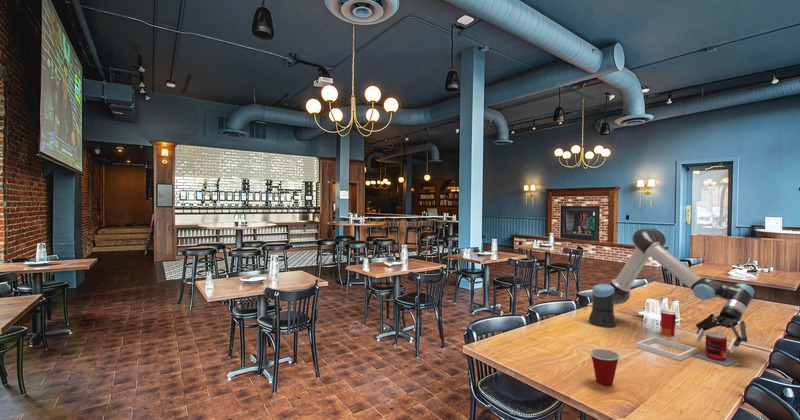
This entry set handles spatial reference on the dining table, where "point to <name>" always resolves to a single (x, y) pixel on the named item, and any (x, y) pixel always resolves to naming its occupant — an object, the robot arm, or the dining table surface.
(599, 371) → the plastic cup
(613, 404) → the dining table surface
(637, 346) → the corral
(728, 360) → the mat
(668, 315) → the paper cup
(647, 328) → the dining table surface
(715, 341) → the canned food
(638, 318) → the dining table surface
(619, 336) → the dining table surface
